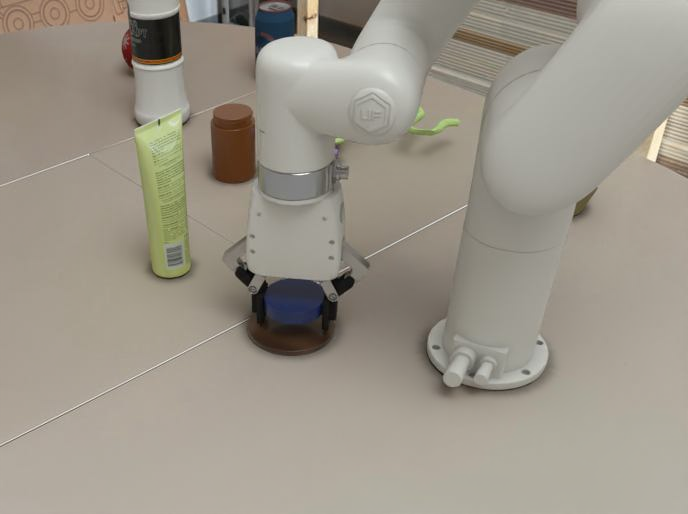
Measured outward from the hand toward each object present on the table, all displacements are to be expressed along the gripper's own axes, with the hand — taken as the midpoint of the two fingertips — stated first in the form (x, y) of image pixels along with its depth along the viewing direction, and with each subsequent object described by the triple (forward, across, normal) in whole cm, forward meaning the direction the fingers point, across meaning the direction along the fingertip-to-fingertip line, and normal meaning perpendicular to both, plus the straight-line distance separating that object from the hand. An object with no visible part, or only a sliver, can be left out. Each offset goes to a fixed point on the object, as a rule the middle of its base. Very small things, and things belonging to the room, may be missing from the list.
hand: (294, 319), depth 94 cm
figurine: (+2, -2, -51) cm, 51 cm away
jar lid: (-3, 0, 0) cm, 3 cm away
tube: (+1, +17, -10) cm, 20 cm away
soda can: (+1, +17, -74) cm, 76 cm away
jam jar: (+1, +16, -36) cm, 39 cm away
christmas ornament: (+1, +41, -73) cm, 84 cm away
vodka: (+1, +32, -53) cm, 62 cm away
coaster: (+1, 0, 0) cm, 1 cm away
